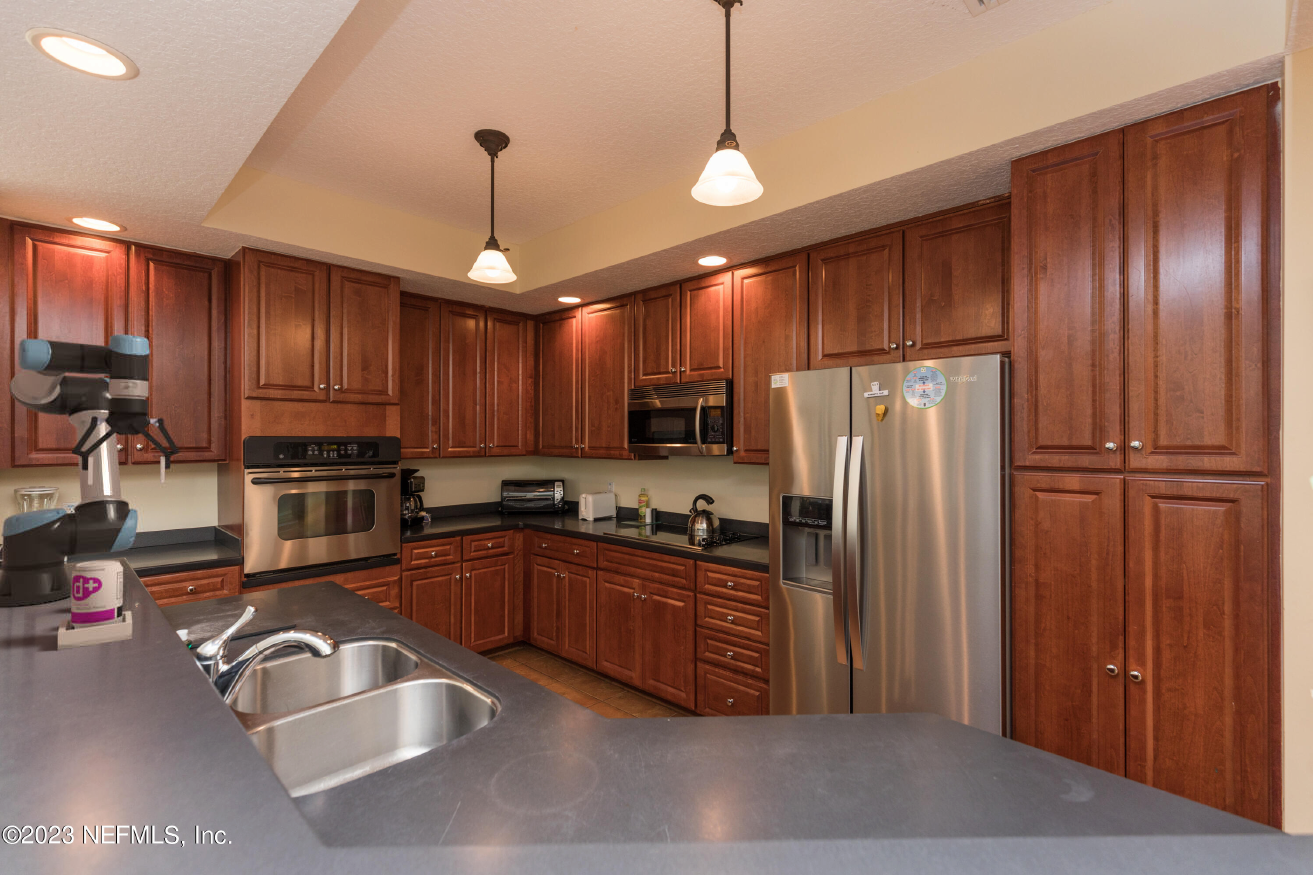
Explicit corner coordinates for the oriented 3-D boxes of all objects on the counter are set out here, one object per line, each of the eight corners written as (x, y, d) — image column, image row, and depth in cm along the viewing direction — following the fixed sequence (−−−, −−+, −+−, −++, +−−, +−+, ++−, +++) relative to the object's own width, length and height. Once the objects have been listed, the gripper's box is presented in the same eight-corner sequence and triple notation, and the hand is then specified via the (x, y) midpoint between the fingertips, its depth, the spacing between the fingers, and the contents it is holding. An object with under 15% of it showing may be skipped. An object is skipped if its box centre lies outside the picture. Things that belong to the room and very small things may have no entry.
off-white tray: (61, 636, 134) (61, 619, 134) (130, 626, 142) (130, 610, 142) (57, 650, 125) (57, 632, 125) (131, 638, 133) (132, 622, 133)
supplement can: (97, 639, 129) (99, 567, 130) (59, 638, 130) (60, 566, 130) (132, 627, 138) (133, 559, 138) (95, 626, 138) (97, 559, 138)
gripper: (58, 394, 143) (56, 486, 143) (192, 400, 159) (191, 482, 159) (60, 395, 149) (58, 484, 148) (189, 401, 165) (188, 480, 165)
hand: (127, 483), depth 154 cm, fingers open, 13 cm apart
